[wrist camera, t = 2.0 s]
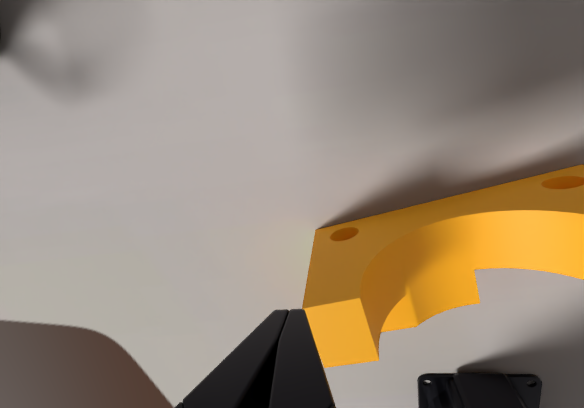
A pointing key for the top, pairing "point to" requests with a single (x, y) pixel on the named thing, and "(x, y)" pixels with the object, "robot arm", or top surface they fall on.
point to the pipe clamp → (436, 258)
